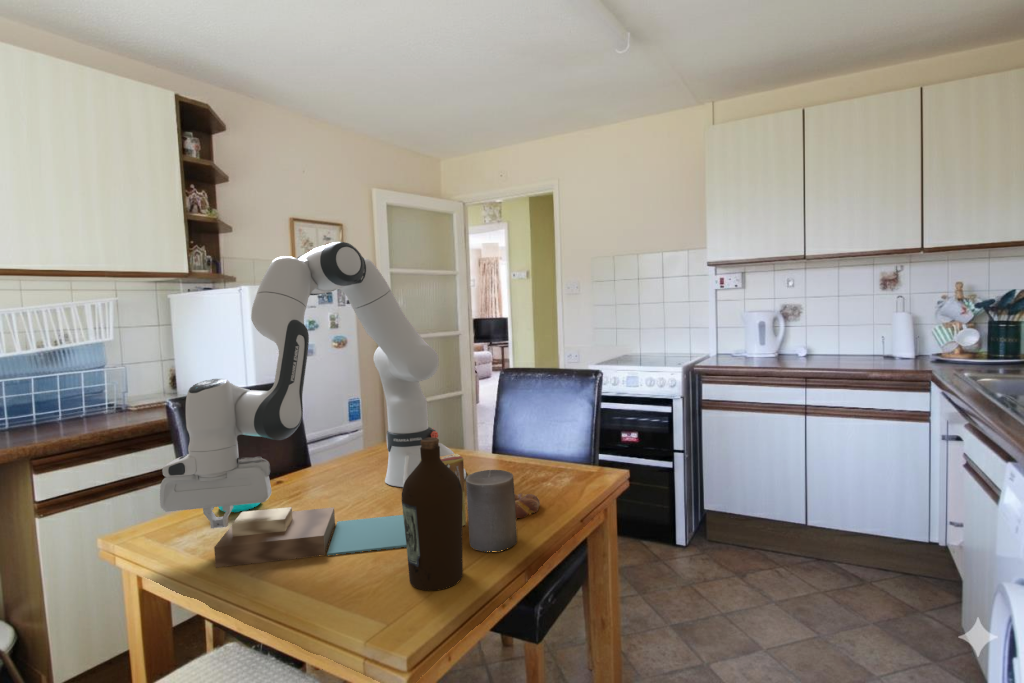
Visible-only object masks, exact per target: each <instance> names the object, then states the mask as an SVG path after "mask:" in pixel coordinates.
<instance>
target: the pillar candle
mask: <svg viewBox="0 0 1024 683" xmlns="http://www.w3.org/2000/svg"><path fill="white" fill-rule="evenodd" d="M464 481H465V485H466V486H465V488H466V503H467V521H468V522H467V523H468V535H469V546H470V545H471V546H470V547H472V548H474V549H473V550H475V549H476V550H475V551H479V552H483V551H485V552H484V553H487V551H488V552H489V551H490V552H492V551H501V550H504V549H507V548H510V547H512V546H513V545H514V546H515V545H516V544H517V543H518V538H517V535H518V534H517V530H518V529H517V519H516V511H515V494H516V493H515V481H514V475H513V473H512V472H510V471H508V470H500V469H487V470H486V469H484V470H479V471H476V472H472V473H471V474H469V475H466V478H465V479H464ZM514 546H513V547H514ZM513 547H512V548H513ZM472 548H471V549H472ZM510 549H511V548H510ZM501 552H502V551H501Z"/></svg>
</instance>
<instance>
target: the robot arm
mask: <svg viewBox="0 0 1024 683" xmlns="http://www.w3.org/2000/svg"><path fill="white" fill-rule="evenodd" d="M337 290H340V291H341V292H342V293H344V295H345V296H346V297H347V300H348V302H349V304H350V305H351V307H352V309H353V311H354V313H355V315H356V317H357V319H358V320H359V322H360V324H361V326H362V328H363V330H364V331H365V333H366V334H367V336H369V337H370V338H371V339H372V340H373V341H374V342H375V344H376V345H377V346H378V347H377V348H376V349H375V351H374V354H373V364H374V366H375V368H376V370H377V372H378V375H379V379H380V382H381V386H382V390H383V393H384V397H385V402H386V403H385V404H386V412H387V413H386V414H387V416H386V417H387V430H386V447H387V452H388V458H387V459H388V461H387V467H386V468H387V469H386V475H385V478H384V482H385V484H387V485H389V486H393V487H398V488H399V487H400V488H403V486H404V483H405V481H406V479H407V478H408V476H409V475H410V474H411V473H412V472H413V470H414V469H415V468H416V467H417V466H418V464H419V463H420V459H421V452H420V448H421V440H422V439H424V438H431V437H433V438H438V439H439V433H438V431H437V430H436V429H435V428H433V427H430V426H429V416H428V415H429V414H428V413H429V412H428V401H427V398H426V396H425V394H424V393H423V390H422V386H421V385H420V382H423V381H426V380H429V379H430V378H432V377H434V375H435V374H436V373H437V371H438V369H439V365H440V364H439V363H440V362H439V355H438V352H436V350H435V349H434V348H433V347H432V346H431V345H430V344H428V343H427V342H426V341H425V340H424V338H423V337H422V336H421V334H419V332H418V330H417V329H416V328H415V327H414V325H413V324H412V323H411V322H410V320H409V319H408V318H407V316H406V315H405V313H404V312H403V310H402V308H401V307H400V304H399V303H398V301H397V299H396V296H395V295H394V294H393V291H392V289H391V288H390V286H389V284H388V282H387V281H386V279H385V276H384V275H382V273H381V272H380V270H379V269H378V267H377V266H376V264H374V263H373V261H372V260H370V259H369V258H364V257H363V256H362V254H361V253H360V251H359V249H357V248H356V247H355V246H354V245H353V244H350V243H348V242H345V241H334V242H331V243H328V244H326V245H325V244H324V245H321V246H318V247H314V248H313V249H312V250H310V251H308V252H307V253H304V254H301V255H299V256H298V257H293V256H286V255H285V256H284V255H283V256H279V257H276V258H274V259H273V260H272V261H271V263H270V264H269V266H268V267H267V269H266V271H265V273H264V275H263V276H262V279H261V281H260V283H259V286H258V289H257V292H256V294H255V297H254V300H253V302H252V308H251V314H250V317H251V318H250V319H251V323H252V324H253V326H254V328H255V330H256V331H257V332H259V333H260V335H262V336H263V337H265V338H266V339H268V340H270V341H272V342H274V343H275V344H276V346H277V351H278V357H277V362H276V363H277V364H276V370H275V375H274V382H273V385H272V387H271V388H270V389H269V390H257V389H251V390H250V389H248V388H244V387H240V386H237V385H235V384H233V383H232V382H230V381H229V380H228V379H227V378H211V379H206V380H202V381H199V382H197V383H195V384H193V385H192V386H190V388H189V389H188V391H187V394H186V398H185V426H186V430H187V433H188V435H189V443H188V447H187V450H188V454H185V455H182V456H180V457H177V458H175V459H173V460H171V461H170V462H168V463H166V464H165V465H164V466H163V467H162V470H161V471H162V475H163V476H164V478H163V479H162V481H161V483H160V487H159V488H160V489H159V505H160V508H161V509H162V511H164V512H165V513H168V512H178V511H187V510H189V511H190V510H197V509H199V510H200V509H202V513H203V515H204V516H205V517H206V519H207V520H208V521H209V523H210V524H209V526H210V529H218V528H221V529H222V528H228V526H229V524H230V523H229V516H230V514H231V511H232V509H233V505H241V504H252V503H260V504H261V503H265V502H266V501H267V500H268V499H270V496H271V495H272V486H271V480H270V473H271V465H270V462H269V461H268V459H266V458H262V456H254V457H253V456H252V457H240V456H239V444H238V443H239V442H238V436H240V435H244V436H251V437H260V438H261V437H262V438H265V439H266V438H267V439H270V440H274V441H283V440H285V439H287V438H289V437H291V436H292V435H293V434H294V433H295V432H296V431H297V429H298V428H299V427H300V425H301V422H302V420H303V415H304V414H303V413H304V406H303V405H304V404H303V391H304V382H305V377H306V368H307V362H308V353H309V344H310V343H309V341H310V340H309V339H310V337H309V336H310V335H309V330H308V328H307V326H306V325H305V322H304V321H305V314H306V310H307V306H308V302H309V298H310V296H318V295H321V294H327V293H330V292H334V291H337ZM438 444H439V446H440V456H446V455H452V454H455V452H454V451H453V450H452V449H451V448H449V447H447V446H446V445H445V444H443V443H441V442H440V441H439V443H438ZM466 472H467V471H466V469H465V468H464V480H465V479H466V477H467V473H466ZM221 506H223V511H226V512H224V514H223V516H216V515H215V514H216V513H214V512H213V510H214V509H215V508H219V507H221ZM223 511H222V512H223Z"/></svg>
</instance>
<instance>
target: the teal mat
mask: <svg viewBox="0 0 1024 683" xmlns="http://www.w3.org/2000/svg"><path fill="white" fill-rule="evenodd" d="M330 540H331V541H330V542H329V545H328V548H327V551H326V556H327V557H329V556H328V555H333V556H337V555H336V554H342V555H347V554H346V553H351V554H356V553H355V552H360V553H363V552H362V551H368V552H371V551H370V550H377V551H382V550H381V549H386V550H394V549H393V548H395V549H402V548H401V547H404V548H407V546H406V536H405V526H404V517H403V514H399V515H398V514H397V515H388V516H379V517H378V516H377V517H369V518H368V517H367V518H359V519H350V520H349V519H348V520H340V521H337V522H336V524H335V527H334V530H333V533H332V536H331V539H330Z"/></svg>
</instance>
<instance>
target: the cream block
mask: <svg viewBox="0 0 1024 683" xmlns="http://www.w3.org/2000/svg"><path fill="white" fill-rule="evenodd" d="M292 511H293V507H292V506H289V507H278V508H269V509H258V510H257V509H256V510H246V511H242V512H240V513H239V515H238V516H237V517H236V518H235V520H233V522H232V523H231V526H232V535H233V537H234V536H243V535H253V534H263V533H272V532H282V531H286V530H287V528H288V526H289V524H290V522H291V520H292V519H293V518H292Z"/></svg>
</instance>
